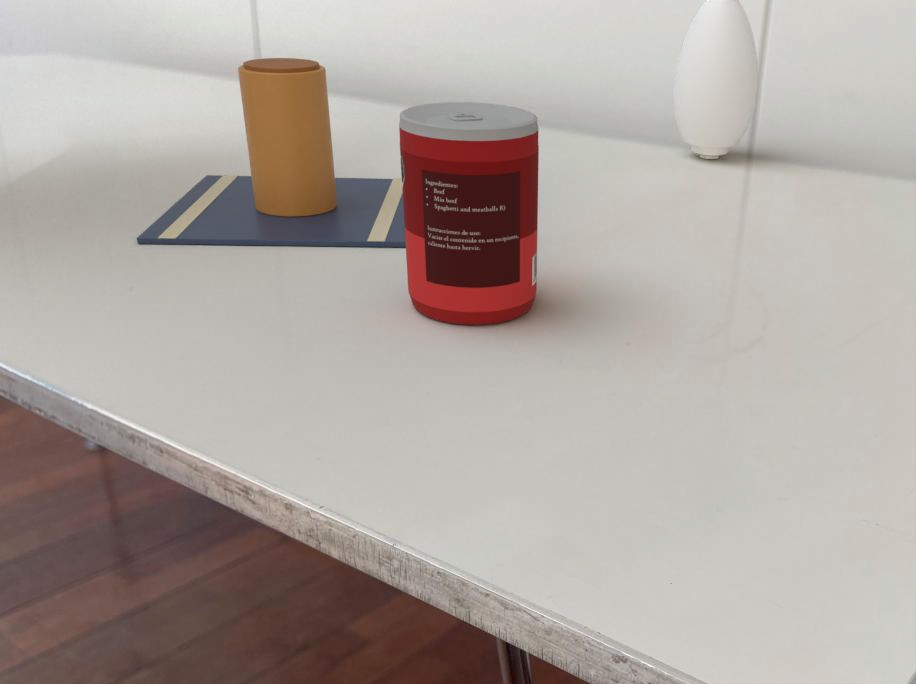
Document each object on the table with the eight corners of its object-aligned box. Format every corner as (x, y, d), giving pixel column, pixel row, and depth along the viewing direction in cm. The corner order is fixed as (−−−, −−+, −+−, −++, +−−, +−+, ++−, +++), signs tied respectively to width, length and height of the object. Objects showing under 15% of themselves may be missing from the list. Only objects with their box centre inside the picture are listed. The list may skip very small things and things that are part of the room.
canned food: (483, 273, 65) (480, 97, 60) (564, 308, 60) (568, 119, 55) (382, 297, 60) (369, 108, 55) (460, 337, 55) (454, 133, 50)
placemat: (137, 243, 68) (136, 237, 68) (207, 179, 84) (206, 174, 83) (405, 247, 69) (405, 241, 69) (424, 184, 85) (424, 178, 85)
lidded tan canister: (247, 216, 73) (227, 67, 68) (264, 195, 78) (248, 56, 73) (330, 217, 74) (317, 70, 69) (342, 197, 79) (331, 58, 74)
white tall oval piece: (765, 161, 98) (788, -42, 90) (706, 169, 94) (725, -43, 86) (711, 145, 104) (728, -47, 95) (653, 153, 100) (666, -48, 91)
